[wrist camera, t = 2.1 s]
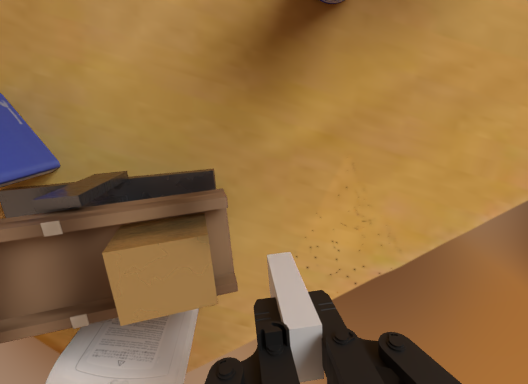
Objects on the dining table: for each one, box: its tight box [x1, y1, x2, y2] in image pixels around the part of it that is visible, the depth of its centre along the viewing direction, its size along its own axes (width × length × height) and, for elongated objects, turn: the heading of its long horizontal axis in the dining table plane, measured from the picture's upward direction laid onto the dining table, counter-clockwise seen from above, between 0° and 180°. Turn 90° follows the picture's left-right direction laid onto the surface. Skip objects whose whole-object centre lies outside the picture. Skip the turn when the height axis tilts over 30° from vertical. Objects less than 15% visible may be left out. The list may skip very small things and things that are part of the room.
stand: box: [0, 169, 216, 324], centre depth 25 cm, size 20×10×9 cm, turn 95°
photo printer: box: [45, 308, 199, 384], centre depth 26 cm, size 10×4×12 cm, turn 77°
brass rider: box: [102, 213, 218, 326], centre depth 19 cm, size 6×5×4 cm
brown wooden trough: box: [0, 189, 238, 343], centre depth 21 cm, size 22×8×6 cm, turn 95°
